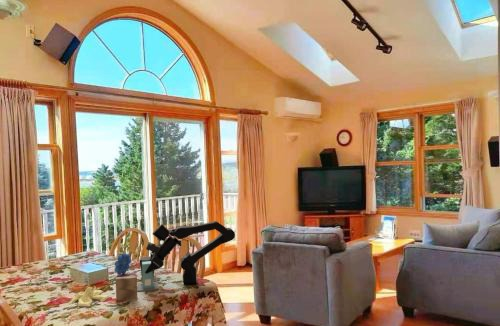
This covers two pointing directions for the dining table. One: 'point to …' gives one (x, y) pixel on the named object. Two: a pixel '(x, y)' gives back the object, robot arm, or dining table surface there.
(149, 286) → the letter block
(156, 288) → the slate coaster
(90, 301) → the cloth
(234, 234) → the robot arm
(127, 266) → the grapes
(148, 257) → the coffee mug
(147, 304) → the dining table surface
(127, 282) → the walnut screen
